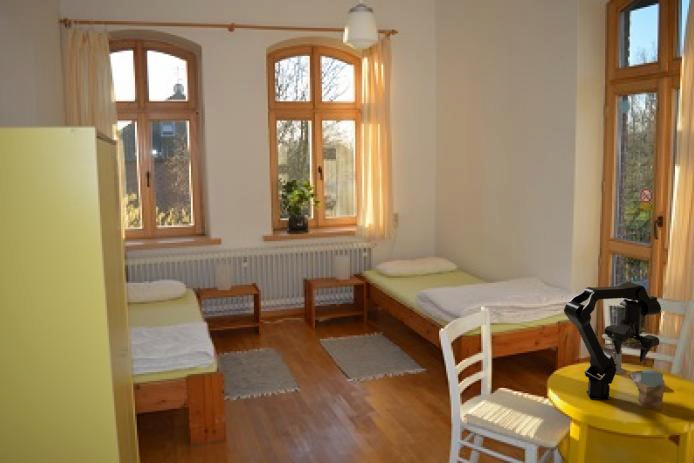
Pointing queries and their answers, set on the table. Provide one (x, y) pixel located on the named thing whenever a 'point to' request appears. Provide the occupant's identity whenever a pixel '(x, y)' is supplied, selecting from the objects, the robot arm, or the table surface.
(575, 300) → the robot arm
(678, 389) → the table surface
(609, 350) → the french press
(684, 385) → the table surface
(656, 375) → the slate block
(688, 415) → the table surface
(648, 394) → the tower mid
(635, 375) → the stone block
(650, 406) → the tower base
